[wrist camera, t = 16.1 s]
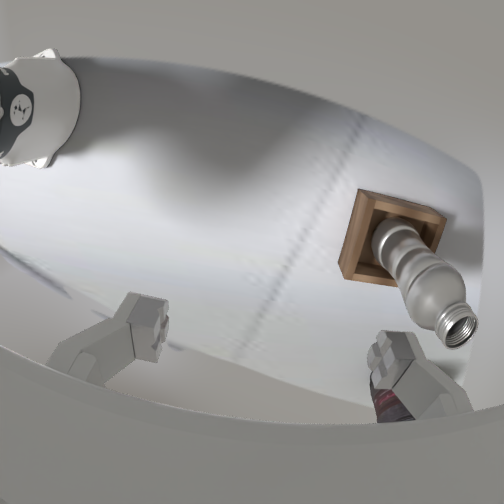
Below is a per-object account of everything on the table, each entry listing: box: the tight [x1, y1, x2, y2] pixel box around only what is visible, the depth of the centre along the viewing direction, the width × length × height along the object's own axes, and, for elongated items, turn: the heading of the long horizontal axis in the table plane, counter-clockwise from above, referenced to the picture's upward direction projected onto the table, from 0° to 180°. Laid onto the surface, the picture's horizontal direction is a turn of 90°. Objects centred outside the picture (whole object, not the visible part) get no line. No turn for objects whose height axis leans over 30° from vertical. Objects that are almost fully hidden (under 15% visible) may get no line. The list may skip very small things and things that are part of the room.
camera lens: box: [370, 371, 416, 423], centre depth 43 cm, size 8×8×15 cm
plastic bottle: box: [371, 217, 478, 350], centre depth 28 cm, size 6×7×20 cm
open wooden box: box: [338, 189, 447, 287], centre depth 36 cm, size 12×10×4 cm
